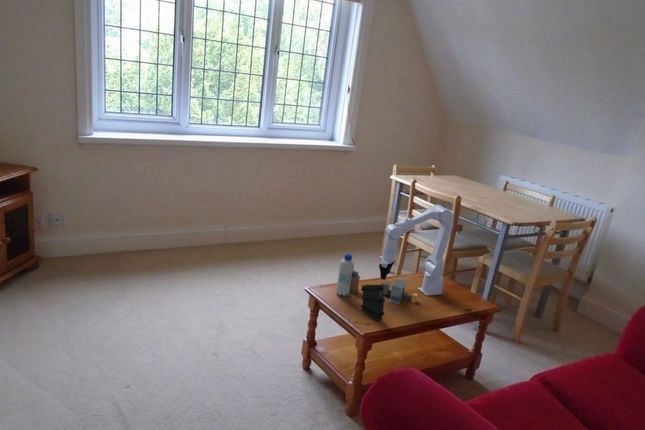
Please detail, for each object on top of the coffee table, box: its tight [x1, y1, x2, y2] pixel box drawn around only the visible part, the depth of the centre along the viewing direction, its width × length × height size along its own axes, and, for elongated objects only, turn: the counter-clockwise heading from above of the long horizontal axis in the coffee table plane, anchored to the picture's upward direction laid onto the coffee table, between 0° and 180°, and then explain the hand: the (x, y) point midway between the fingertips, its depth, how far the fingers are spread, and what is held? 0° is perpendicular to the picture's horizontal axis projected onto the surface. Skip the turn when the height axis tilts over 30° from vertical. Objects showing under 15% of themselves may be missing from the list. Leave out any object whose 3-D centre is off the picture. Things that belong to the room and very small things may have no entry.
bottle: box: [335, 253, 355, 297], centre depth 222 cm, size 7×7×20 cm
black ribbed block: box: [360, 284, 386, 322], centre depth 208 cm, size 4×13×15 cm, turn 34°
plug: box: [380, 280, 419, 304], centre depth 229 cm, size 17×3×5 cm, turn 70°
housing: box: [387, 278, 408, 305], centre depth 229 cm, size 5×16×7 cm, turn 160°
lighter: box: [349, 269, 361, 293], centre depth 229 cm, size 8×3×10 cm, turn 84°
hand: (384, 276), depth 230 cm, fingers open, 7 cm apart
